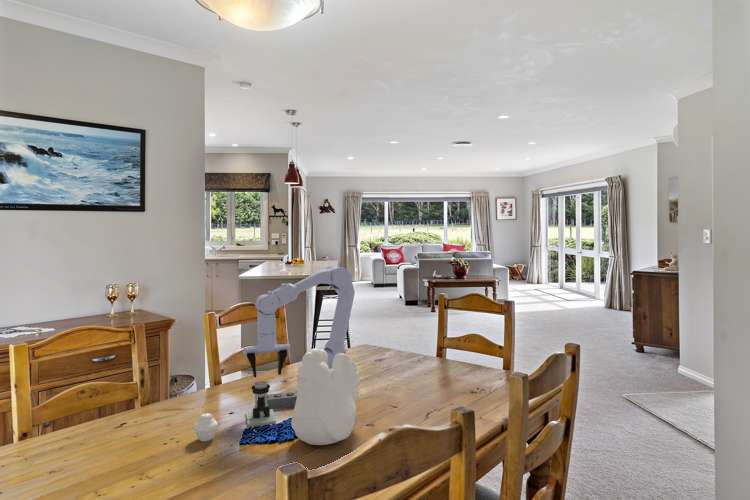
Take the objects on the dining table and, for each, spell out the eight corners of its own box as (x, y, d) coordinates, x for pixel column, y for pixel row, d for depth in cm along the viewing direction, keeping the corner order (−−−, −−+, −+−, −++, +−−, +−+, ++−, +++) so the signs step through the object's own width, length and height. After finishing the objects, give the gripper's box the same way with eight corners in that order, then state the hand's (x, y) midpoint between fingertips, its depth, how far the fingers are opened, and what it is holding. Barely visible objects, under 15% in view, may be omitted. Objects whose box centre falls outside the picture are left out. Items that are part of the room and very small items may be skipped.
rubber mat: (272, 410, 145) (272, 408, 145) (276, 422, 135) (276, 420, 135) (246, 413, 143) (246, 412, 143) (247, 426, 133) (247, 424, 133)
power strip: (313, 398, 156) (312, 387, 156) (315, 403, 151) (315, 392, 151) (257, 404, 150) (257, 393, 150) (259, 410, 146) (258, 398, 146)
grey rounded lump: (195, 445, 121) (194, 419, 121) (192, 437, 126) (192, 411, 126) (220, 440, 124) (219, 414, 123) (216, 432, 129) (215, 407, 129)
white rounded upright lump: (316, 461, 112) (315, 358, 111) (278, 441, 123) (277, 348, 122) (386, 430, 130) (385, 341, 129) (347, 415, 141) (347, 333, 140)
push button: (248, 421, 135) (248, 387, 135) (246, 415, 140) (245, 382, 139) (271, 418, 137) (271, 384, 137) (268, 412, 142) (268, 379, 142)
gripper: (287, 328, 154) (288, 369, 154) (242, 332, 149) (242, 374, 149) (291, 332, 147) (291, 375, 147) (243, 336, 142) (244, 380, 143)
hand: (267, 375), depth 148 cm, fingers open, 7 cm apart
